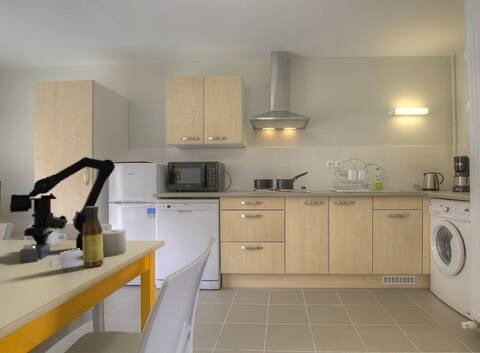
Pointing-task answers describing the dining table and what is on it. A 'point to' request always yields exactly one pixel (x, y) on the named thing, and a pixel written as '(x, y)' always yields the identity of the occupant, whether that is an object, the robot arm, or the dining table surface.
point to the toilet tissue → (114, 242)
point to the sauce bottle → (92, 238)
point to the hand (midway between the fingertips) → (42, 250)
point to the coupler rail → (29, 254)
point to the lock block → (43, 249)
